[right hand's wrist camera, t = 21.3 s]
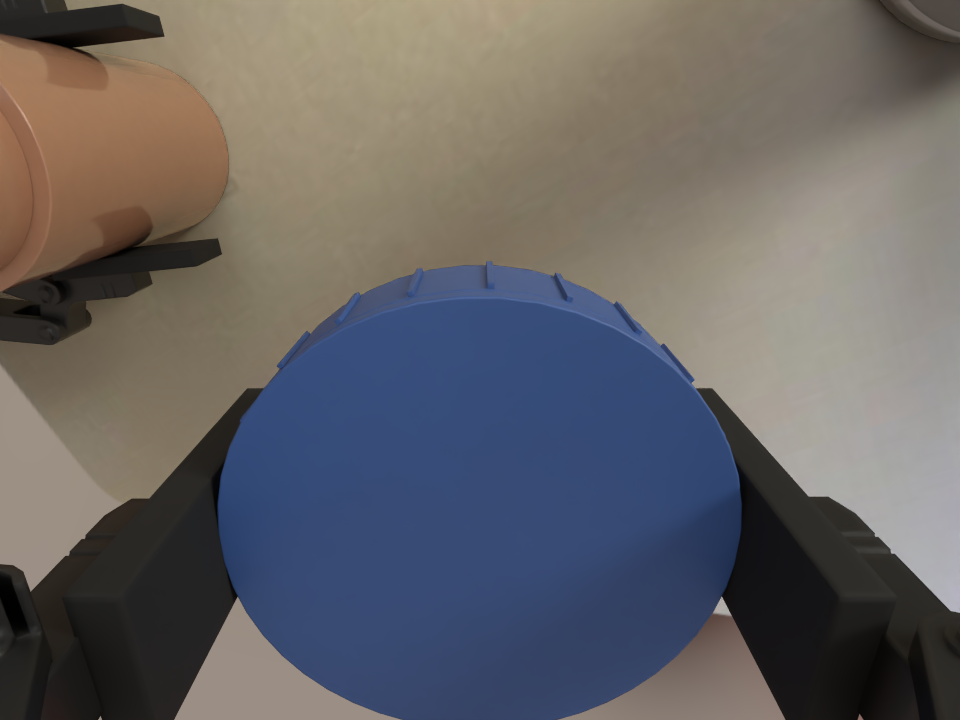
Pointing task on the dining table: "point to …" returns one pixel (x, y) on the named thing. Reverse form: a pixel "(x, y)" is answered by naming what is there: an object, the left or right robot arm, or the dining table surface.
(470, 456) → the lid
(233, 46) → the dining table surface
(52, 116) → the jar
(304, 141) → the dining table surface
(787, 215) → the dining table surface
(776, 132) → the dining table surface
